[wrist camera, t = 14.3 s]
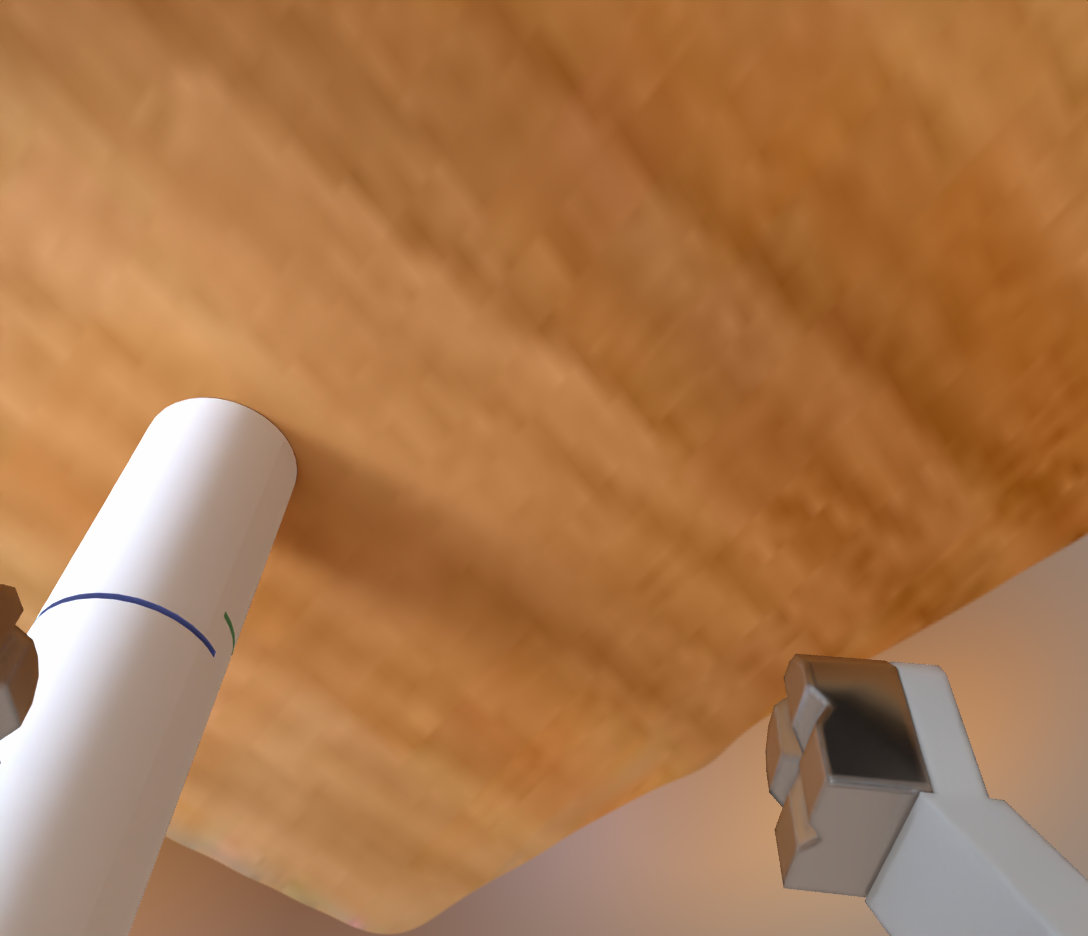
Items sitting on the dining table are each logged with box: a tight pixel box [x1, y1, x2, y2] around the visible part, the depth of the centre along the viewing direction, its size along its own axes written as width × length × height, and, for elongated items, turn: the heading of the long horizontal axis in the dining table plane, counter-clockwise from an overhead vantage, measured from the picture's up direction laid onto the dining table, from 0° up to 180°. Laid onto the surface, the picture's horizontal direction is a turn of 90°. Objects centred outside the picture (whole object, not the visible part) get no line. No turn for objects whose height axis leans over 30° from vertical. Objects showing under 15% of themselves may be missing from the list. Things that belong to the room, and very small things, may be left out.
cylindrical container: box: [0, 398, 297, 936], centre depth 40 cm, size 7×7×25 cm
